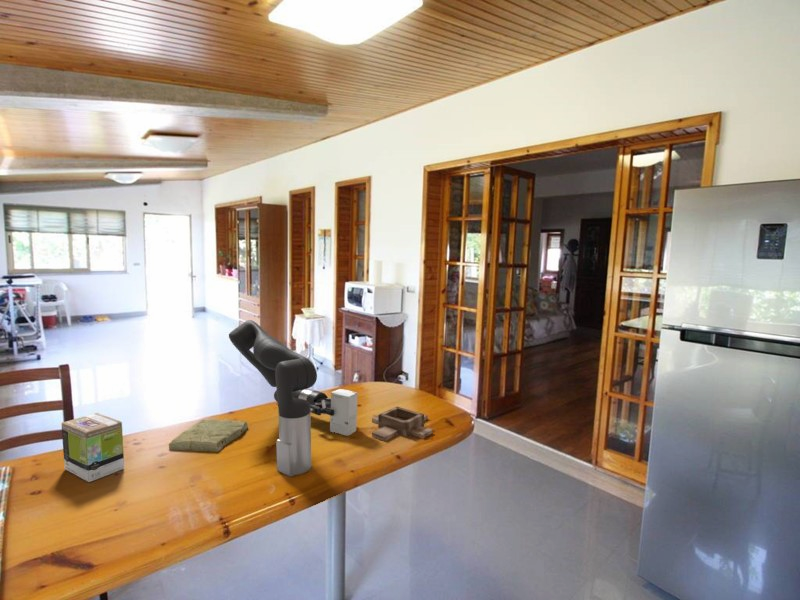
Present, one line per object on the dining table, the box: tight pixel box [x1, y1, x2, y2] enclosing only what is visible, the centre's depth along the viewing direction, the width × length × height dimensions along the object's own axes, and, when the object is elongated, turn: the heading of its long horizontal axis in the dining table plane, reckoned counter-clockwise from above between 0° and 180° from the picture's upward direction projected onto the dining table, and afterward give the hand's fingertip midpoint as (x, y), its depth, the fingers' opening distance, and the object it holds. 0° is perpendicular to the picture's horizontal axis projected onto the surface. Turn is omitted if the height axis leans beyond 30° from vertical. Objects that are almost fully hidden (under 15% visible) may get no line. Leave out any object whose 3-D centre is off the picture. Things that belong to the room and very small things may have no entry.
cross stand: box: [371, 406, 433, 442], centre depth 160 cm, size 26×24×5 cm
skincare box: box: [329, 388, 359, 437], centre depth 155 cm, size 8×6×15 cm
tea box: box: [61, 412, 125, 483], centre depth 127 cm, size 15×10×15 cm
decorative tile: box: [168, 418, 249, 453], centre depth 150 cm, size 19×20×4 cm
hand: (342, 409), depth 155 cm, fingers open, 8 cm apart
